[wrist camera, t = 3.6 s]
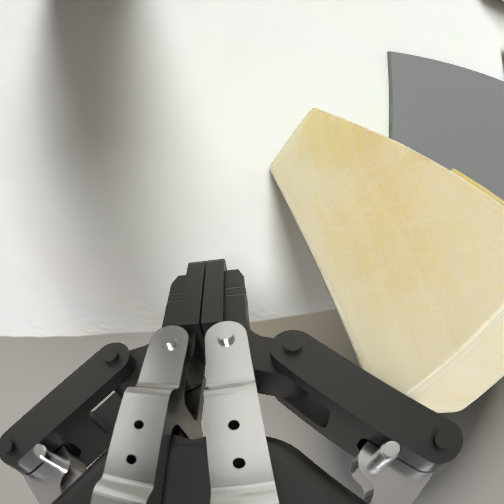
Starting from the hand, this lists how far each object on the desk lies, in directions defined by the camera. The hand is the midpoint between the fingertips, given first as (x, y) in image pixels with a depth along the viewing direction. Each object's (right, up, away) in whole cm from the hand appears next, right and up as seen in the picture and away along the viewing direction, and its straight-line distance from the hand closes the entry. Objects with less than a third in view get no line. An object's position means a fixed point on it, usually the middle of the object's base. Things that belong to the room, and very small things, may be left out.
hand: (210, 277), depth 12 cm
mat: (+24, +11, +12) cm, 29 cm away
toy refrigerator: (+8, +9, +12) cm, 17 cm away
